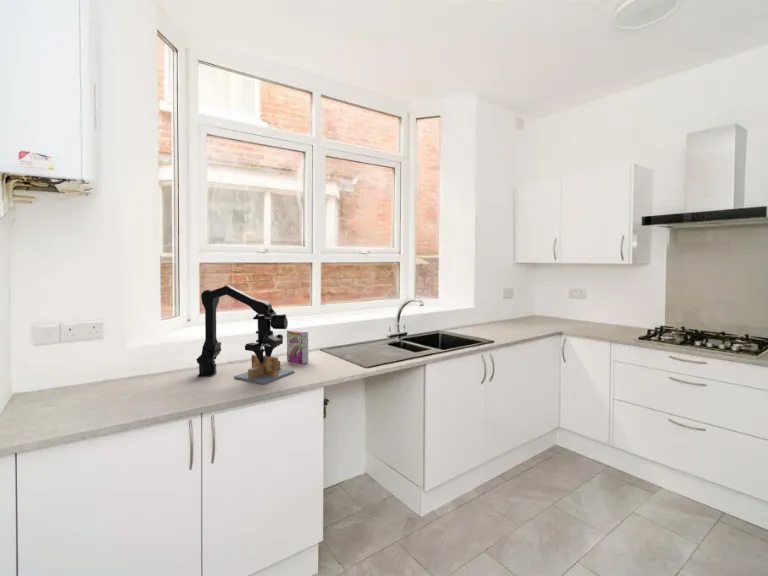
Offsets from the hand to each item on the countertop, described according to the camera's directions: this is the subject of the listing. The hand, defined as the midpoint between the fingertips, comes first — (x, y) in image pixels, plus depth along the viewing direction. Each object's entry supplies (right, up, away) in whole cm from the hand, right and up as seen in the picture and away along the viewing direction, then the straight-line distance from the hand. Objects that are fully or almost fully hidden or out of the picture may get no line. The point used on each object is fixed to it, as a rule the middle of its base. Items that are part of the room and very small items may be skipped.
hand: (264, 362), depth 186 cm
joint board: (0, -6, +1) cm, 6 cm away
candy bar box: (+10, -5, +25) cm, 27 cm away
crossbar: (0, -5, 0) cm, 5 cm away
